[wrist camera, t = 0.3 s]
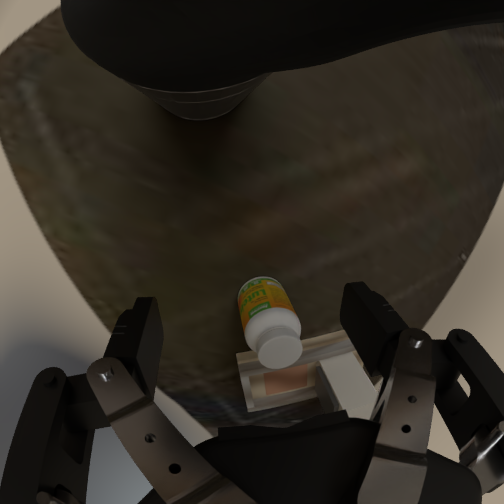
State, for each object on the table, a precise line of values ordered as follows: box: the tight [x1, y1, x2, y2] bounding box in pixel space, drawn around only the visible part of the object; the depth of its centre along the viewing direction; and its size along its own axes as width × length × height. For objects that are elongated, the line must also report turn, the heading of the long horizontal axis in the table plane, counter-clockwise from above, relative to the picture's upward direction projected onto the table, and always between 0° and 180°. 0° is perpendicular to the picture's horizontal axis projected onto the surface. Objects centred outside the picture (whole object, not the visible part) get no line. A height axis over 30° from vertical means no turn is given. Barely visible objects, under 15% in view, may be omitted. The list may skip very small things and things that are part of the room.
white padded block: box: [315, 352, 378, 420], centre depth 33 cm, size 6×5×10 cm
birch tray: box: [236, 330, 363, 412], centre depth 37 cm, size 10×18×3 cm, turn 96°
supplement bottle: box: [238, 277, 303, 369], centre depth 28 cm, size 5×5×10 cm
